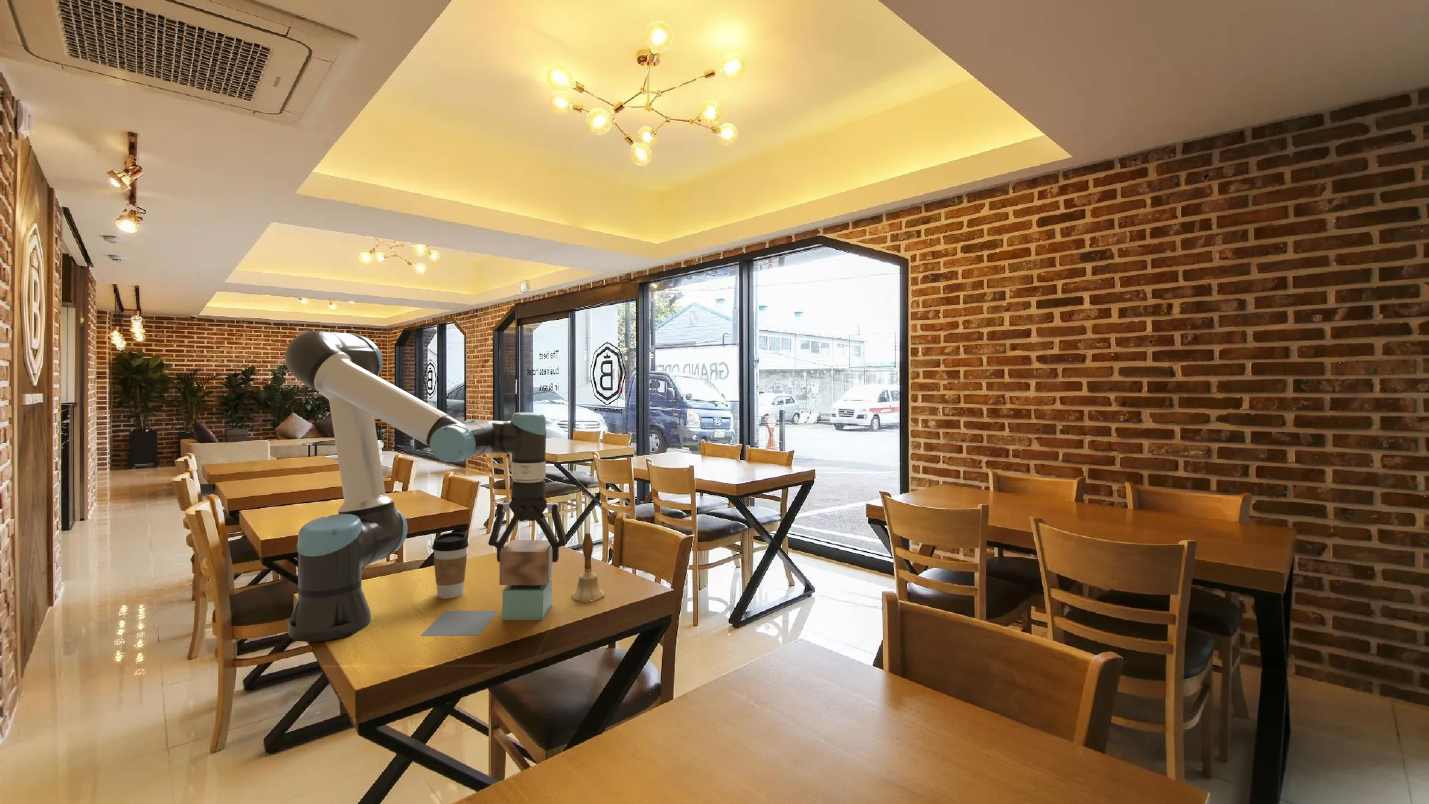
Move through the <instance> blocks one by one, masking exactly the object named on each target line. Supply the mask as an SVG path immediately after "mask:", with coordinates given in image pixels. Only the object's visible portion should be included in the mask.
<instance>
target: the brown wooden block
mask: <svg viewBox="0 0 1429 804" xmlns="http://www.w3.org/2000/svg"><path fill="white" fill-rule="evenodd" d="M504 546H505V547H504V548H503V549H502V550H501V551H500V562H499V582H498V583H499V586H507V585H545V584H546V583H547V581H548V580H549V578H548V577H549V549H550V547H551V545H550V543H549V541H548V540H546V539H512V540H511V541H509V542H508V543H507V544H505V545H504Z"/></svg>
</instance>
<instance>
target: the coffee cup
mask: <svg viewBox="0 0 1429 804" xmlns="http://www.w3.org/2000/svg"><path fill="white" fill-rule="evenodd" d="M467 537H468V535H467V534H466V533H465V532H460V531H457V532H454V531H453V532H447V533H443V534H439V535H437V536H436V537H435V538H434V539H433V543H432V546H431V549H432V550H433V555H434V556H433V565H434V575H435V584H436V595H437V597H438V598H440V599H443V600H444V599H446V600H447V599H454V598H458V597H461V596H462V595H463V594H464V587H465V578H466V569H467V560H468V554H467V549H468V547H469V546H470V545H469V541H468V538H467Z"/></svg>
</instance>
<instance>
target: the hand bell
mask: <svg viewBox="0 0 1429 804" xmlns="http://www.w3.org/2000/svg"><path fill="white" fill-rule="evenodd" d="M593 548H594V542H593V539H592V536H591V533H590V532H586V533H584V537H583V541H582V553H583V557H584V572H582V573H580V574H579V575H578V581H577V582H578V583H577V586H576V589H575V590H574V591H573V592H572V593H571V595H570V598H571V597H572V598H571V599H572V600H573V601H575V600H578V601H577V602H579V601H590V600H597V599H600V598H602V597H603V598H604V597H605V596H604V594H605V592H604V591H603V590H602V589H601V587H600V585H599V580H598V574H596V572H593V571H592V555H593V550H594V549H593ZM603 598H602V599H603ZM600 600H601V599H600ZM597 601H598V600H597Z"/></svg>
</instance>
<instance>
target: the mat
mask: <svg viewBox="0 0 1429 804" xmlns="http://www.w3.org/2000/svg"><path fill="white" fill-rule="evenodd" d="M498 612H499V610H445V611H443V613H442V614H441V615H440V616H439V617H438V618H437V619H436V620H434V622H432V624H430V626H428V628H427V629H426V630H424V631H423V632H422V633H421V634H420V635H419V636H423V637H426V636H427V637H429V636H430V637H432V636H433V637H435V636H436V637H437V636H438V637H439V636H440V637H442V636H444V637H447V636H448V637H450V636H452V637H454V636H455V637H457V636H459V637H460V636H465V637H471V636H472V637H474V636H478V637H479V636H480V635H481V633H482V632H483V631H484V630H485V629H486V627H487V626H488V625H489V623H490V622H491V621H492V619H494V617H495V616H496V615H497V613H498Z"/></svg>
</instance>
